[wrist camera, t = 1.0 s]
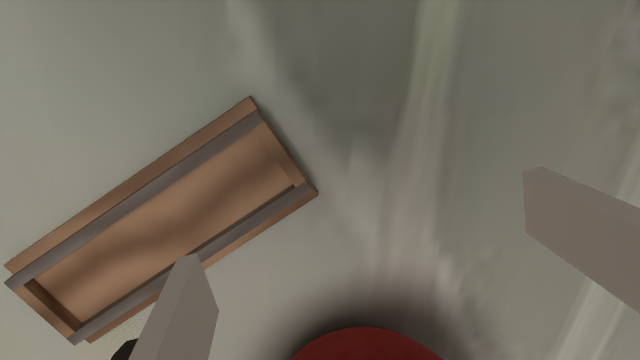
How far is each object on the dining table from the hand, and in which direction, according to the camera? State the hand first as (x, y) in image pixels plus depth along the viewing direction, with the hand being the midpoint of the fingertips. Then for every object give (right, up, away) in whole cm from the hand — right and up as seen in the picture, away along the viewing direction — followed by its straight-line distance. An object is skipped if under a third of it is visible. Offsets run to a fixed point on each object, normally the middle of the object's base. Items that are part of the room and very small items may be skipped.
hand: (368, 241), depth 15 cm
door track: (-18, -2, +25) cm, 31 cm away
